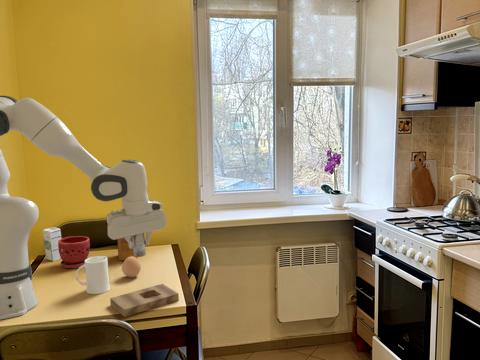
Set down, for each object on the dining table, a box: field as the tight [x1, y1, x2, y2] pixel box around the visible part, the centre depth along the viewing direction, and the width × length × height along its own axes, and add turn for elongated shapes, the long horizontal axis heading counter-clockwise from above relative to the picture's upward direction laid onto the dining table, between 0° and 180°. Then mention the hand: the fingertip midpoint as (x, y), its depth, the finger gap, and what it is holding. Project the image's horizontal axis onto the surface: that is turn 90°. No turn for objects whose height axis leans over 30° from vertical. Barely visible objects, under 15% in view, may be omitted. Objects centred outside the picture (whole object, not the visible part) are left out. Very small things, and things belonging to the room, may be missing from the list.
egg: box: [121, 256, 142, 278], centre depth 176 cm, size 7×7×8 cm
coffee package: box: [117, 236, 139, 261], centre depth 202 cm, size 10×12×22 cm
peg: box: [132, 233, 146, 258], centre depth 150 cm, size 4×4×8 cm
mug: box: [75, 255, 111, 295], centre depth 162 cm, size 12×8×12 cm
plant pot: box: [58, 235, 91, 269], centre depth 192 cm, size 13×13×12 cm
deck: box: [109, 283, 180, 318], centre depth 151 cm, size 20×12×2 cm, turn 127°
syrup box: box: [42, 226, 62, 262], centre depth 202 cm, size 6×6×14 cm
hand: (139, 246), depth 150 cm, fingers closed on peg, 4 cm apart
